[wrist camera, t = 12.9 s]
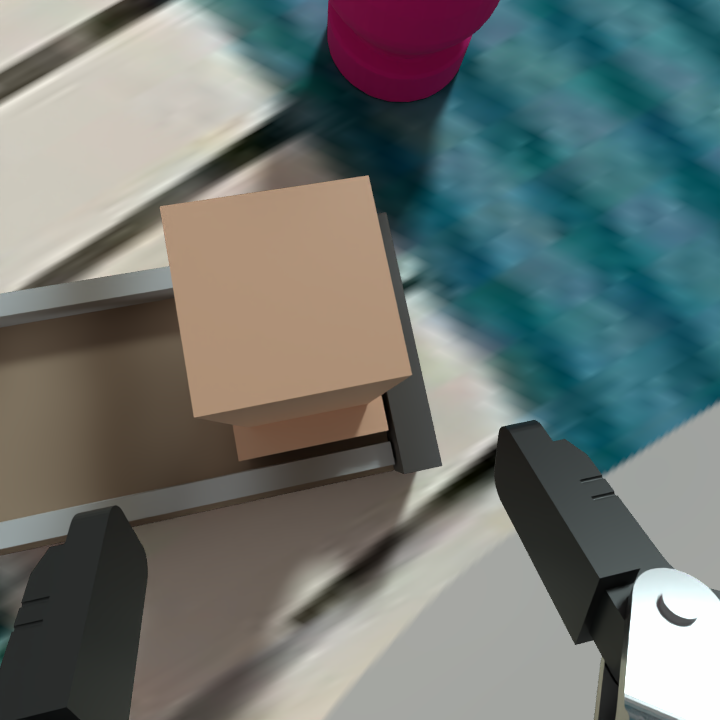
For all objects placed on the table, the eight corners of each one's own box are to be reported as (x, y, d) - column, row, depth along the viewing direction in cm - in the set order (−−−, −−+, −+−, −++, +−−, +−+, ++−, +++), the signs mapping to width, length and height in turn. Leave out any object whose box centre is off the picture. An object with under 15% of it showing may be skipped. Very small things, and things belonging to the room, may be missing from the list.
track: (374, 249, 22) (386, 212, 19) (420, 461, 21) (442, 465, 17) (-138, 334, 20) (-239, 311, 16) (-119, 577, 19) (-223, 610, 15)
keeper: (349, 277, 20) (383, 125, 10) (380, 431, 20) (450, 422, 10) (219, 300, 20) (124, 161, 10) (246, 459, 19) (174, 480, 9)
